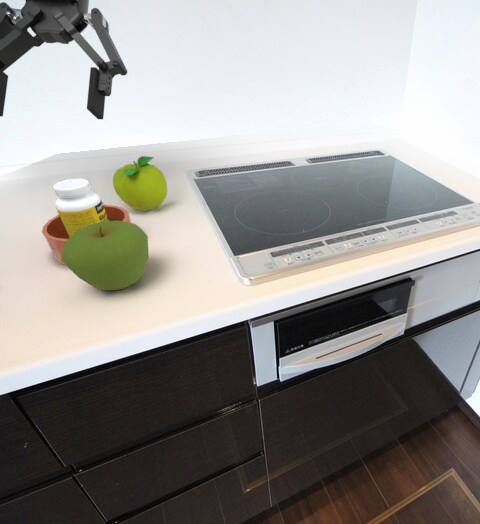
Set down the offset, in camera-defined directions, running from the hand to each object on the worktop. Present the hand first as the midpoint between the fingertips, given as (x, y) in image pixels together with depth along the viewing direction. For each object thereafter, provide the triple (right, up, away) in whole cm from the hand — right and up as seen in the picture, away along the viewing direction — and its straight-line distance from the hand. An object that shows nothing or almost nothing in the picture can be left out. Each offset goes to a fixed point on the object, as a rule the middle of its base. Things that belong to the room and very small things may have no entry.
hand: (44, 112), depth 52 cm
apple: (+8, -25, +5) cm, 26 cm away
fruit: (+1, -10, +24) cm, 26 cm away
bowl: (-1, -19, +12) cm, 22 cm away
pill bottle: (-1, -18, +12) cm, 22 cm away
